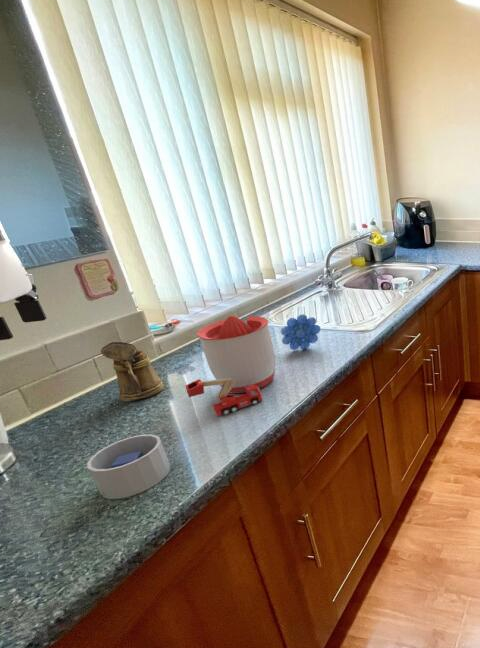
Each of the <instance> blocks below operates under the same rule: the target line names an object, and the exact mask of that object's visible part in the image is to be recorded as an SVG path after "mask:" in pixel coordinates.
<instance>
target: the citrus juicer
mask: <svg viewBox="0 0 480 648" xmlns="http://www.w3.org/2000/svg"><path fill="white" fill-rule="evenodd" d="M196 336H197V338H199V340H200V343H201V346H202V349H203V350H202V351H203V353H204V356H205V359H206V362H207V365H208V368H209V371H210V372H211V373H212V375H213V377H214V380H221V379H226V378H230V379H233V380H235V382H236V383H235V384H234V386H233V387H232V389H231V390H230V392H229V394H242V393H243V394H244V393H246V390H245V386H246V385H256V386H258V387H259V389H261V388H264V387H266V386H267V385H268V384H270V383H271V382H272V381H273V380H274V377H275V373H276V352H275V347H274V343H273V340H272V336H271V333H270V328H269V320H268V319H267V318H266V317H264V316H260V315H259V316H258V315H257V316H255V315H252V316H251V315H250V316H247V319H246V322H245V320H243V319H241V318H239V317H237V316H234V315H228V317H227V318H225V319H223V320H219V321H216V322H212V323H210V324H208V325H205V326H203V327H202V328H201V329H199V330H198V331H197V335H196ZM219 386H220V387H221V388H222V386H223V384H221V385H219Z"/></svg>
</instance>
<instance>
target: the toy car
mask: <svg viewBox="0 0 480 648" xmlns="http://www.w3.org/2000/svg"><path fill="white" fill-rule="evenodd" d="M142 456H143V454H142V452H141V451H140V452H135V453H130V454H126V455H121V456H118V457H117V458H116V459H115V461H114V462H113V463H112V465H111V467H110V468H115V467H119V466H122V465H125V464H128V463H130V462H133V461H135V460H137V459H139V458H141V457H142Z"/></svg>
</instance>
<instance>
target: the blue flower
mask: <svg viewBox="0 0 480 648" xmlns="http://www.w3.org/2000/svg"><path fill="white" fill-rule="evenodd" d="M320 332H321V326H320V325H318V324H317V319H316V318H315V317H314V316H310V317H307V315H306V314H304V313H301V314H299V315H297V316H296V318H295V317H290V318H289V319H287V321H286V325H285V326H283V327H282V328H281V330H280V333H281V335H282V336H283V337H282V339H281V342H282V344H283V345H285V346H288V345H289V349H291V350H292V351H297V350H298V349H299V348H300V349H301V350H307V349H308V348H309V347H310V345H311V344H315V343H317V342H318V340H319V336H318V334H320Z"/></svg>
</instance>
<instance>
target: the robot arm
mask: <svg viewBox="0 0 480 648" xmlns="http://www.w3.org/2000/svg"><path fill="white" fill-rule="evenodd" d="M1 221H2V220H0V305H3V304H7V303H8V302H10V301H13V300H14V301H15V302H13V305H14V306H15V308H16V310H17V312H18V313H17V314H18V315H19V317H20V319H21V320H22V322H23V323H24V324H25V323H26V324H27V323H34V322H42V321H43V322H44V321H45V320H47V315H46V313H45V311H44V310H43V307H42V305H41V303H40V300H39V299H40V297H39V295H38V293H37V285H35V277H34V275H33V274H32V273H29V272H27V271H26V269H25V267H24V265H23V263H22V262H21V261H22V260H20V257H19V256H18V254H17V253H16V252H15V250H14V249H13V247H12V246H11V244H10V243H11V240H10V238H9V236H8V233H7V232H6V230H5V227H4V225H3V223H2V222H1ZM13 338H14V335H13V333H12V331H11V328H10V327H9V324H8V323H7V321H6V319H5V317H4V316H0V341H5V340H6V341H7V340H11V339H13Z"/></svg>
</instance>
